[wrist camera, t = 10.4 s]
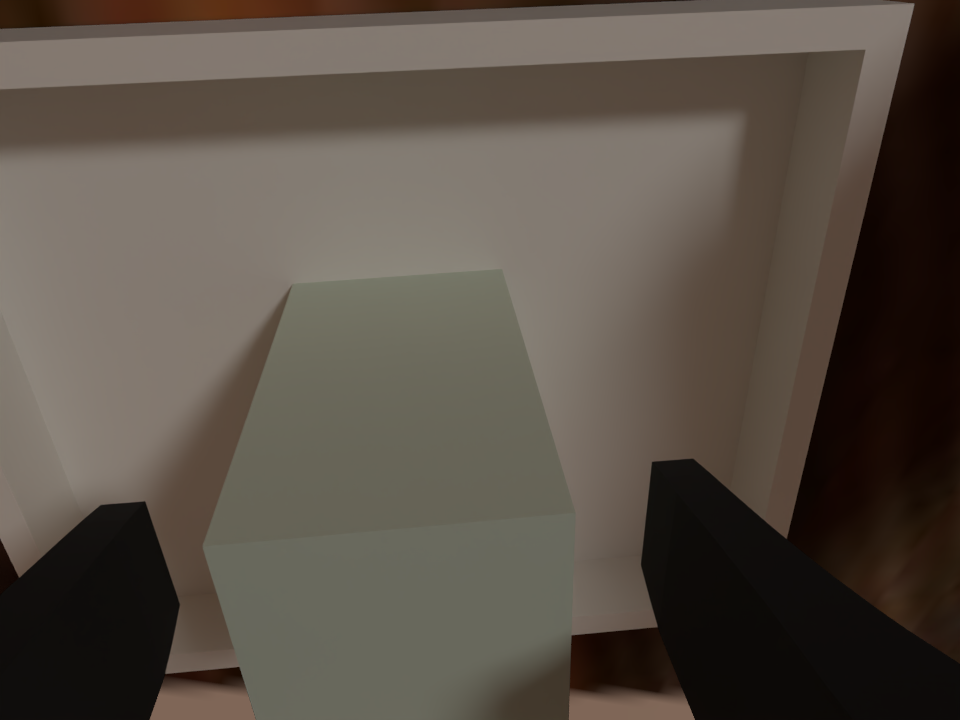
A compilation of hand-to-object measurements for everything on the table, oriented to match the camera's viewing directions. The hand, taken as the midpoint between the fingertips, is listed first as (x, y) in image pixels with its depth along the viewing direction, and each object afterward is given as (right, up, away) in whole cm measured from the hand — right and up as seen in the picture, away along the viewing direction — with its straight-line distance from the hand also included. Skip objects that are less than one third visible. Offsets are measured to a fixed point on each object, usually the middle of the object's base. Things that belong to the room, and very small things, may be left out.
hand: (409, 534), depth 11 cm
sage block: (0, +2, +4) cm, 5 cm away
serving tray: (-1, +3, +5) cm, 6 cm away
